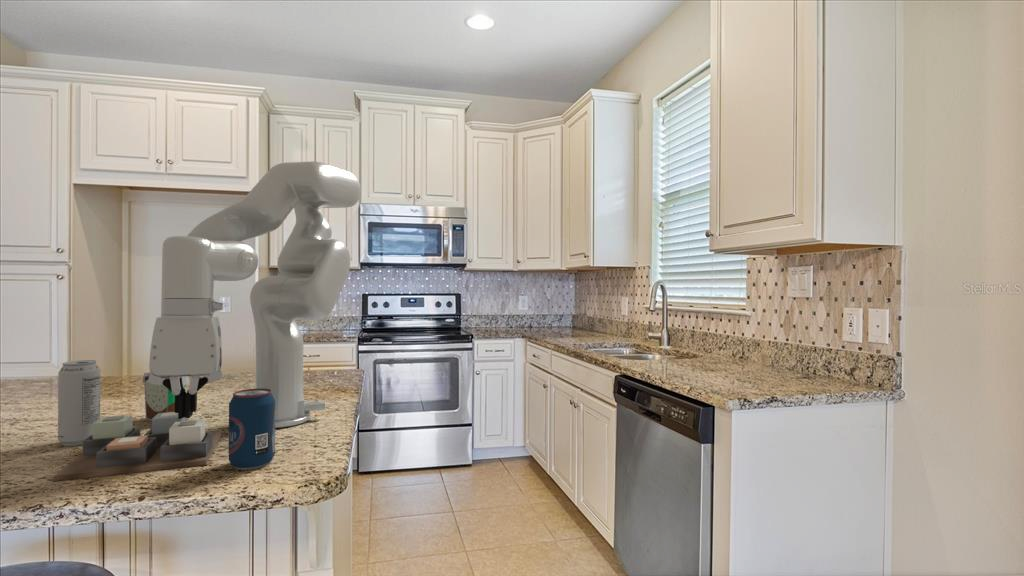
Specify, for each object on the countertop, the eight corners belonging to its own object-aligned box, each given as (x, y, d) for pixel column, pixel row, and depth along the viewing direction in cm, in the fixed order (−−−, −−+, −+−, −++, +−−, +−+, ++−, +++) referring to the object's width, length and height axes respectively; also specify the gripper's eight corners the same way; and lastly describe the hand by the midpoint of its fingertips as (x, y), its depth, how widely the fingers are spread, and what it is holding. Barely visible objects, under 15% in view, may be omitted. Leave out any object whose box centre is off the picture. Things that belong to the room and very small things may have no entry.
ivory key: (205, 435, 91) (205, 418, 91) (200, 442, 87) (200, 424, 87) (175, 437, 89) (175, 420, 89) (169, 445, 85) (169, 427, 85)
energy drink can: (75, 437, 99) (75, 359, 99) (108, 437, 99) (108, 359, 99) (49, 447, 93) (49, 364, 93) (84, 446, 93) (84, 364, 93)
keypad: (222, 434, 101) (222, 418, 101) (206, 464, 85) (206, 445, 85) (97, 445, 94) (97, 428, 94) (53, 481, 77) (53, 460, 77)
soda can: (221, 464, 85) (221, 392, 85) (263, 453, 90) (264, 385, 90) (239, 474, 80) (239, 398, 80) (282, 463, 86) (283, 391, 86)
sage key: (132, 430, 93) (132, 413, 93) (124, 437, 89) (124, 420, 89) (102, 432, 92) (102, 416, 92) (92, 440, 88) (92, 422, 88)
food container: (200, 420, 112) (201, 374, 112) (169, 426, 107) (169, 378, 107) (173, 412, 118) (173, 369, 118) (142, 418, 113) (142, 372, 113)
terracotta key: (148, 451, 88) (148, 434, 88) (140, 460, 83) (140, 441, 83) (116, 454, 86) (116, 436, 86) (106, 463, 82) (106, 444, 82)
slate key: (186, 425, 97) (186, 410, 97) (181, 432, 92) (181, 415, 92) (158, 428, 95) (158, 412, 95) (151, 434, 91) (151, 418, 91)
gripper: (239, 308, 94) (237, 408, 94) (141, 308, 88) (139, 415, 88) (234, 310, 87) (232, 418, 87) (127, 310, 81) (125, 425, 81)
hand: (185, 416), depth 87 cm, fingers closed
